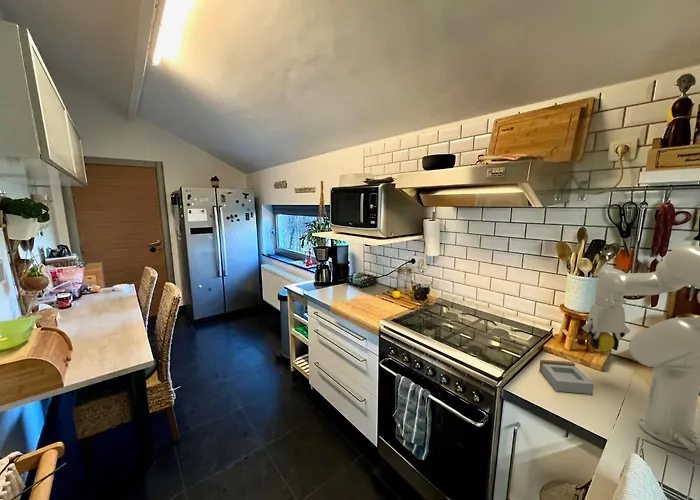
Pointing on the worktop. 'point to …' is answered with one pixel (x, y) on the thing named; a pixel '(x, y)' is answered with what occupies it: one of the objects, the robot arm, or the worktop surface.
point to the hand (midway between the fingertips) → (603, 347)
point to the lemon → (605, 341)
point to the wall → (555, 363)
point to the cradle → (567, 378)
